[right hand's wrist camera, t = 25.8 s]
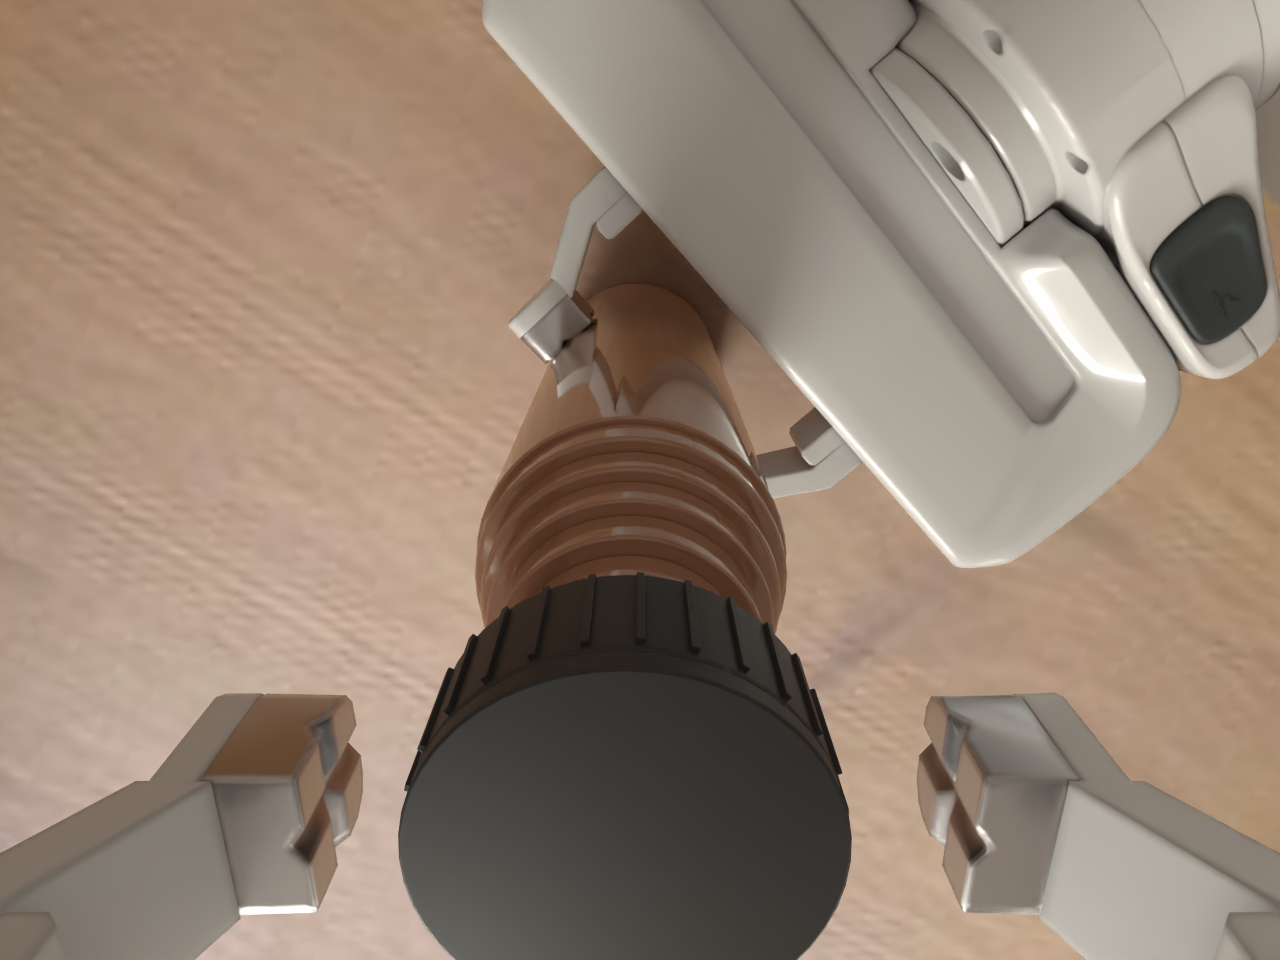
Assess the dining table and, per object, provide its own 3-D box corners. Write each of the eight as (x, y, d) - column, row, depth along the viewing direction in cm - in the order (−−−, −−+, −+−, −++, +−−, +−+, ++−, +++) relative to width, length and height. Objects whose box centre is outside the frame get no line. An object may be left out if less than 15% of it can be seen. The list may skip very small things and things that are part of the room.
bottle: (630, 465, 30) (610, 1052, 10) (525, 355, 29) (274, 792, 9) (745, 368, 29) (972, 824, 9) (642, 249, 28) (646, 482, 8)
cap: (448, 884, 11) (411, 1026, 9) (419, 564, 9) (367, 660, 8) (803, 887, 11) (834, 1028, 9) (836, 568, 9) (881, 664, 8)
